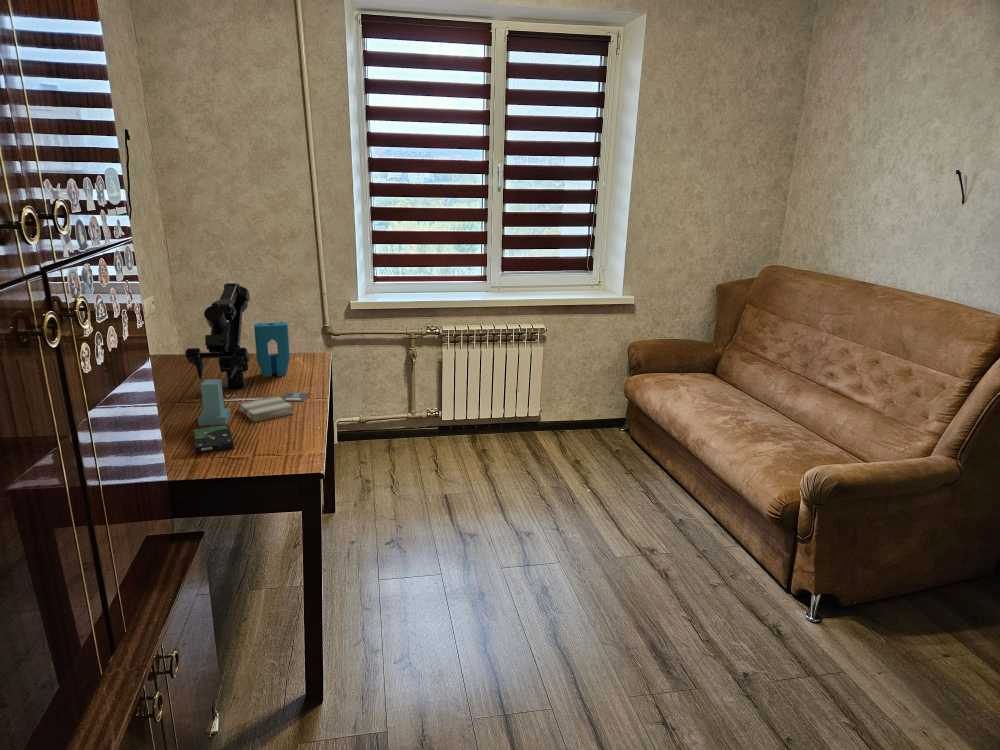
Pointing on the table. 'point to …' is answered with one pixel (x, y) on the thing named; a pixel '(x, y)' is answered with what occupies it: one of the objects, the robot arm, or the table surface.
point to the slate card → (295, 397)
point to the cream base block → (266, 408)
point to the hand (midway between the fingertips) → (215, 378)
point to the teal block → (213, 404)
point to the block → (281, 360)
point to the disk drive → (213, 439)
